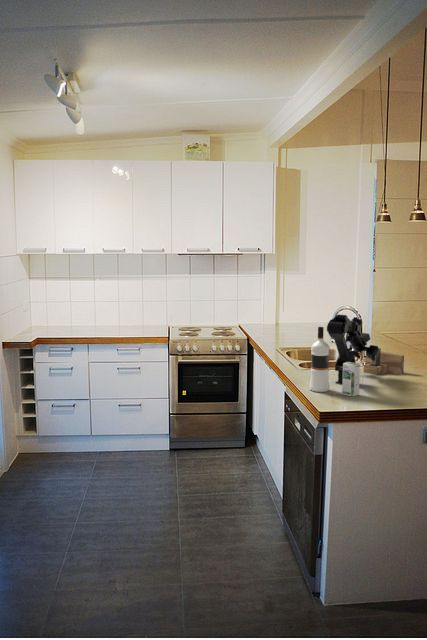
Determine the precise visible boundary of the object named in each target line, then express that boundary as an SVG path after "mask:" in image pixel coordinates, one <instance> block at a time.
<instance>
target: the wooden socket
mask: <svg viewBox="0 0 427 640" xmlns="http://www.w3.org/2000/svg"><path fill="white" fill-rule="evenodd" d="M404 366H405V355H404V354H399V353H394V352H387V351H382V350H381V356H380V366H377V367H375V366H372V360H371V359H370V358H368V356H367V355H366V354H365V364H363V370H362V371H363V373H365V374H370V375H373V376H374V375H375V376H378V375H379V376H380V375H382V374H387V373H392V374H396V375H403V374H404V370H405V369H404V368H405V367H404Z"/></svg>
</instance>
